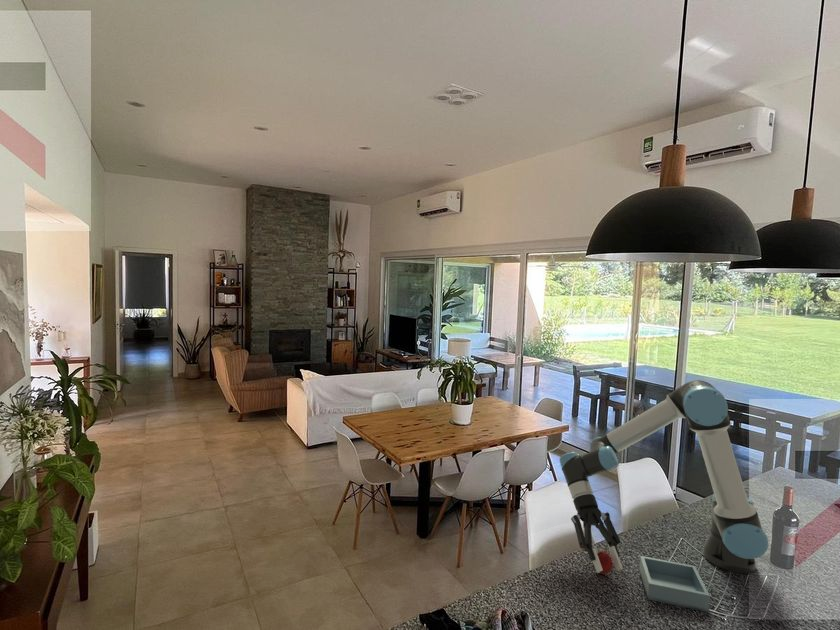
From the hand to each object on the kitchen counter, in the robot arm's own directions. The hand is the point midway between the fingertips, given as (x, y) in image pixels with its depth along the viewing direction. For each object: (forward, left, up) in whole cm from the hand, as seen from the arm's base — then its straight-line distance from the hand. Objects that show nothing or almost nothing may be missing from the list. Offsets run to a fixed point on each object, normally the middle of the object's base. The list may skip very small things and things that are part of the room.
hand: (609, 570), depth 143 cm
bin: (-18, -2, -3) cm, 19 cm away
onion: (+2, -3, -4) cm, 5 cm away
